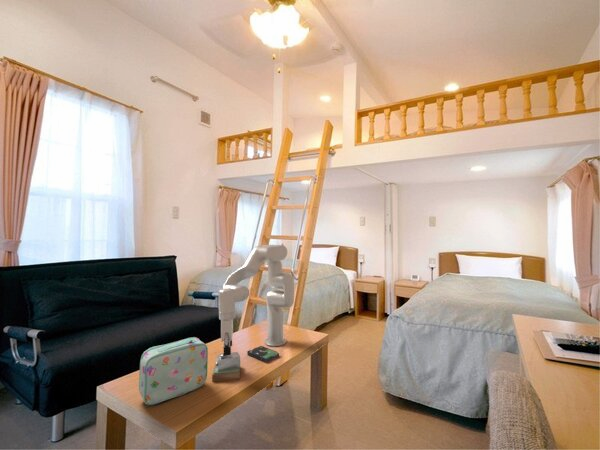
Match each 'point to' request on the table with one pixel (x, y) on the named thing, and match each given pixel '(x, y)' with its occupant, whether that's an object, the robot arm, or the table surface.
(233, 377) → the green and brown block
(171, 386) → the lunch box
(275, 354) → the disk drive
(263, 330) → the table surface
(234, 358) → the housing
